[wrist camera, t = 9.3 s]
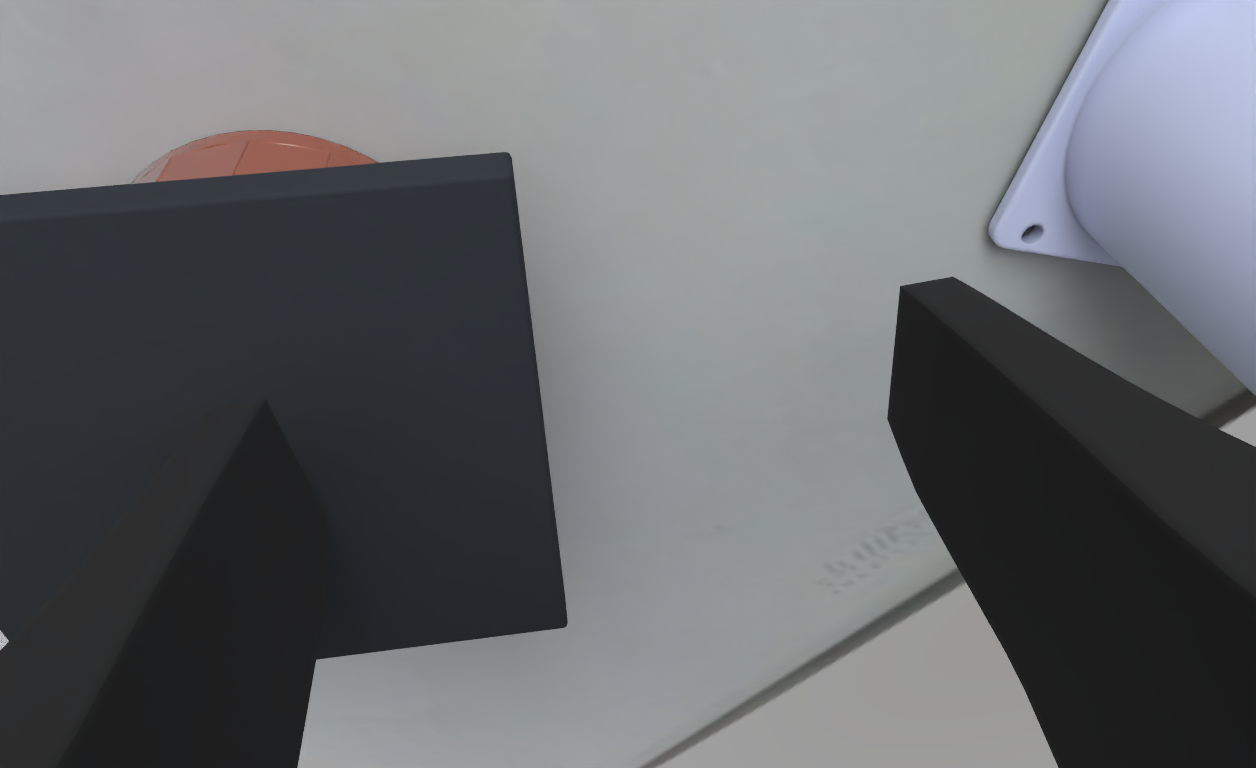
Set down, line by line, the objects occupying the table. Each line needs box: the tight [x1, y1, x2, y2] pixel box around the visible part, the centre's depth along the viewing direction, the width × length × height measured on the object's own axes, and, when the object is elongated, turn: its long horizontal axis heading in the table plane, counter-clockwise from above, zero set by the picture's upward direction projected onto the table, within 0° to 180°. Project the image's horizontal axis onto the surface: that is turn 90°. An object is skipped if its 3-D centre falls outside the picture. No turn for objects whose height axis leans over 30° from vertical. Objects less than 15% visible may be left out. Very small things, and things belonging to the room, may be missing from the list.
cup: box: [131, 130, 378, 184], centre depth 19 cm, size 8×8×6 cm
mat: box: [0, 152, 568, 659], centre depth 15 cm, size 11×11×4 cm
